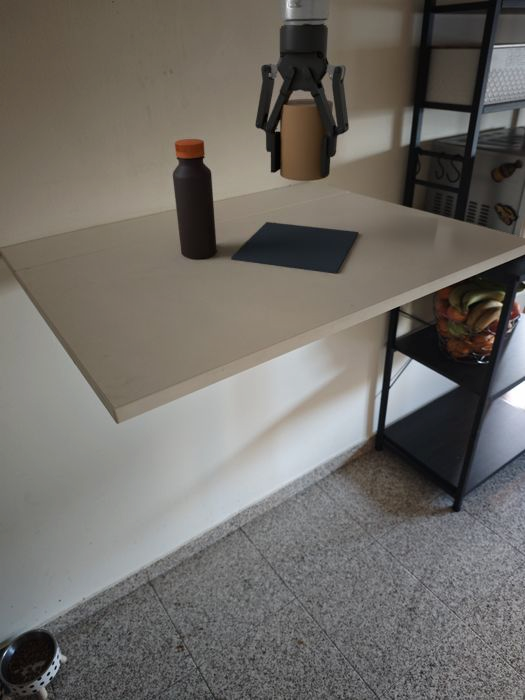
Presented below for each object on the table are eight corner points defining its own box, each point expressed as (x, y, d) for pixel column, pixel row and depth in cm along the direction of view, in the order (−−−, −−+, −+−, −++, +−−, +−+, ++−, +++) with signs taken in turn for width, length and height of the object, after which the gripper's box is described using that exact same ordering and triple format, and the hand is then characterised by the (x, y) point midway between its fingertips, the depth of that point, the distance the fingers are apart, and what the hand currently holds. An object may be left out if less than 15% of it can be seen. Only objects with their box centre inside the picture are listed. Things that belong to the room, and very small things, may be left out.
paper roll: (289, 97, 90) (273, 105, 83) (337, 99, 87) (326, 106, 80) (288, 167, 97) (273, 179, 90) (333, 170, 94) (322, 183, 87)
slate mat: (358, 234, 102) (358, 231, 102) (336, 273, 87) (337, 271, 86) (266, 224, 108) (266, 221, 108) (231, 259, 92) (230, 257, 92)
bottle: (191, 263, 91) (179, 147, 80) (175, 251, 96) (162, 140, 85) (223, 254, 94) (216, 142, 83) (206, 243, 99) (198, 136, 88)
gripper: (230, 24, 78) (237, 172, 90) (366, 23, 71) (352, 184, 83) (251, 23, 84) (254, 163, 96) (378, 22, 76) (363, 173, 89)
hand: (299, 173), depth 90 cm, fingers closed on paper roll, 9 cm apart
